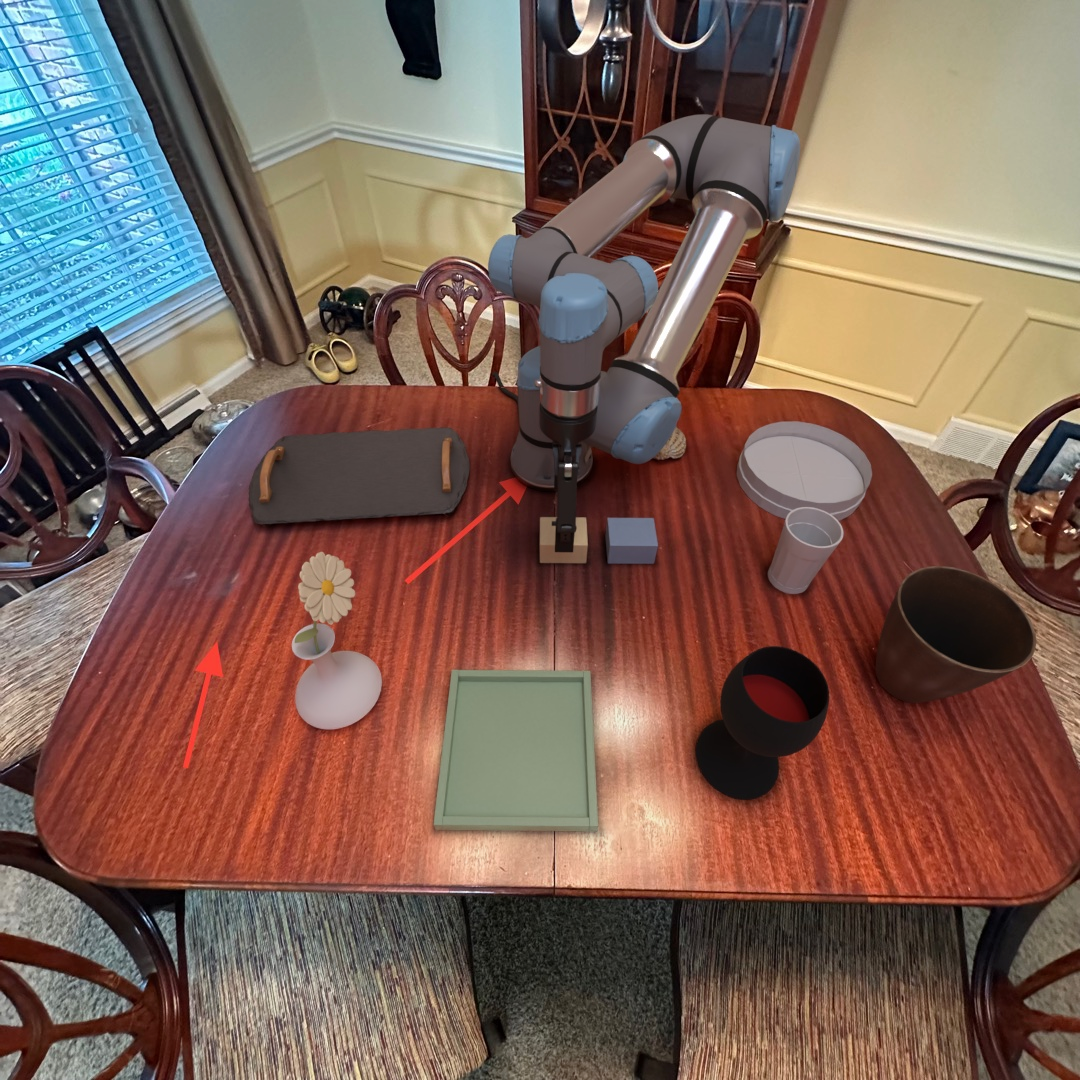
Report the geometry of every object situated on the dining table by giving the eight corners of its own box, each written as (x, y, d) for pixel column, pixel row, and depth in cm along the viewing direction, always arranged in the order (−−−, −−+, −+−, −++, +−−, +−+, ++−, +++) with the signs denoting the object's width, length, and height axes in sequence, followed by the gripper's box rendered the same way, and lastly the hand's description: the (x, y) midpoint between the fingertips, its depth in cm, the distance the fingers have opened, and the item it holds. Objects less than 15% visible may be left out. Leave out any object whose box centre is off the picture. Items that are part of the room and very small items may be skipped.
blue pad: (607, 563, 97) (610, 545, 94) (605, 535, 101) (607, 517, 98) (654, 564, 97) (658, 545, 94) (649, 536, 101) (653, 517, 98)
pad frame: (435, 830, 71) (433, 824, 69) (453, 676, 84) (451, 669, 82) (597, 831, 71) (598, 826, 69) (589, 677, 84) (590, 670, 82)
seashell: (642, 449, 120) (647, 463, 111) (645, 419, 118) (650, 430, 108) (681, 451, 120) (689, 465, 110) (685, 421, 117) (693, 432, 108)
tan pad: (539, 563, 97) (539, 544, 94) (540, 535, 101) (540, 517, 98) (586, 563, 97) (587, 545, 94) (584, 535, 101) (586, 517, 98)
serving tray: (241, 536, 101) (226, 510, 96) (270, 446, 116) (259, 421, 112) (471, 522, 103) (468, 496, 98) (470, 436, 118) (467, 410, 114)
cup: (816, 602, 92) (847, 551, 83) (763, 593, 93) (787, 543, 84) (812, 562, 97) (840, 511, 88) (761, 554, 98) (783, 503, 89)
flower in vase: (342, 751, 77) (278, 649, 58) (280, 706, 81) (202, 598, 62) (409, 673, 84) (371, 560, 65) (349, 636, 88) (297, 519, 69)
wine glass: (686, 722, 79) (720, 642, 64) (763, 716, 80) (814, 635, 65) (707, 804, 72) (751, 736, 57) (791, 796, 73) (856, 727, 58)
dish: (742, 518, 104) (749, 498, 100) (730, 437, 118) (737, 416, 114) (875, 529, 102) (888, 509, 98) (847, 445, 116) (857, 425, 113)
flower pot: (987, 698, 82) (1065, 635, 69) (914, 752, 77) (984, 694, 65) (895, 618, 90) (950, 549, 78) (824, 661, 85) (871, 595, 73)
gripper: (540, 350, 85) (539, 463, 101) (538, 467, 69) (538, 580, 85) (593, 350, 85) (584, 463, 101) (603, 467, 69) (591, 581, 85)
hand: (563, 517), depth 93 cm, fingers open, 13 cm apart
